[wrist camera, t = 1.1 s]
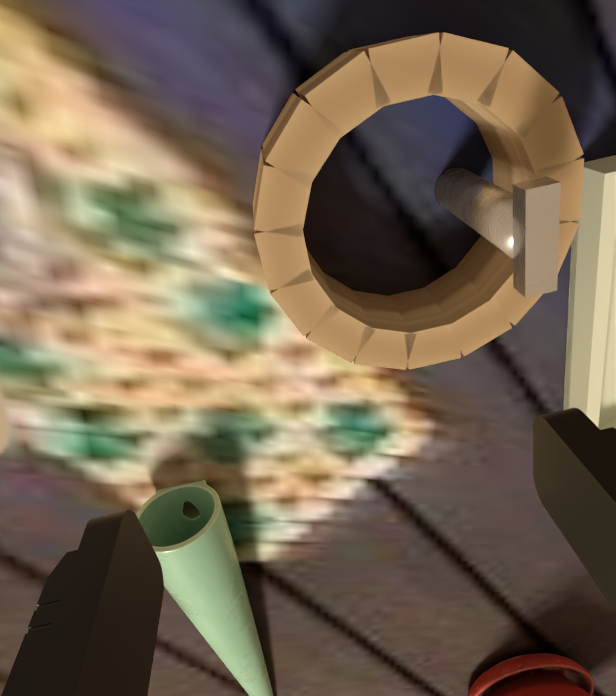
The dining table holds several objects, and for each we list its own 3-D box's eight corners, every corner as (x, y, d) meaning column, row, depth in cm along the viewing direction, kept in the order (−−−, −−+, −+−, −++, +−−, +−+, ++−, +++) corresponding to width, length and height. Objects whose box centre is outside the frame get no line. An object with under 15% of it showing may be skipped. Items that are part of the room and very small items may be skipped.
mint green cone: (238, 778, 42) (122, 560, 29) (239, 705, 47) (139, 489, 34) (304, 765, 42) (217, 540, 29) (298, 693, 47) (221, 472, 34)
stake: (431, 151, 25) (513, 192, 18) (471, 142, 25) (572, 179, 18) (437, 231, 27) (514, 300, 20) (475, 222, 27) (567, 288, 20)
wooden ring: (220, 79, 23) (215, 84, 19) (533, 7, 23) (593, -4, 19) (289, 351, 30) (296, 395, 26) (531, 295, 30) (574, 332, 26)
